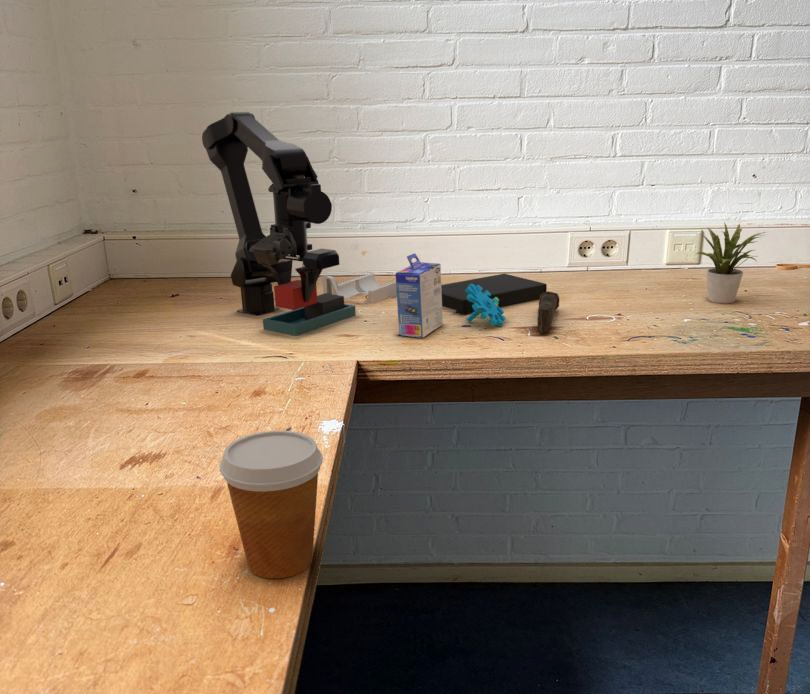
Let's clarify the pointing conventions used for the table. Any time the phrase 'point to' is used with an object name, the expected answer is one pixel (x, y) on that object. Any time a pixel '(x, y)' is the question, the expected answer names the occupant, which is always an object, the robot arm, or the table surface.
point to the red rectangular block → (292, 295)
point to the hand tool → (547, 310)
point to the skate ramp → (360, 288)
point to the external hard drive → (492, 291)
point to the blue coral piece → (484, 305)
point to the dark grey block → (324, 305)
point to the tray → (305, 320)
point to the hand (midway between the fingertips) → (296, 299)
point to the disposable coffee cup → (274, 499)
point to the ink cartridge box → (419, 298)
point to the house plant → (726, 266)
